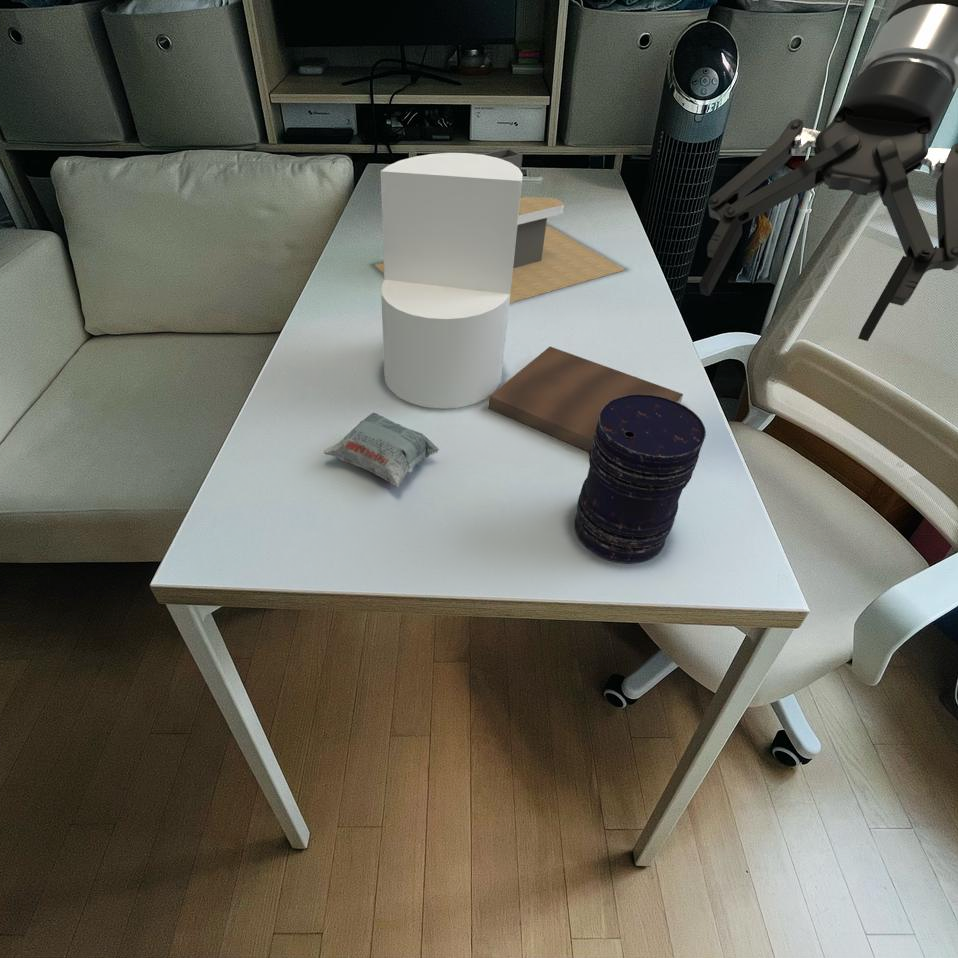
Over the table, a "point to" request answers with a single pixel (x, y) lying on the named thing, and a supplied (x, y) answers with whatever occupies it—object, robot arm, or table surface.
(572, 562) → the table surface
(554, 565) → the table surface
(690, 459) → the navy ribbed canister
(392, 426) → the packaged food
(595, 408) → the board
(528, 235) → the architectural model
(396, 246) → the cylinder
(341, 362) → the table surface
